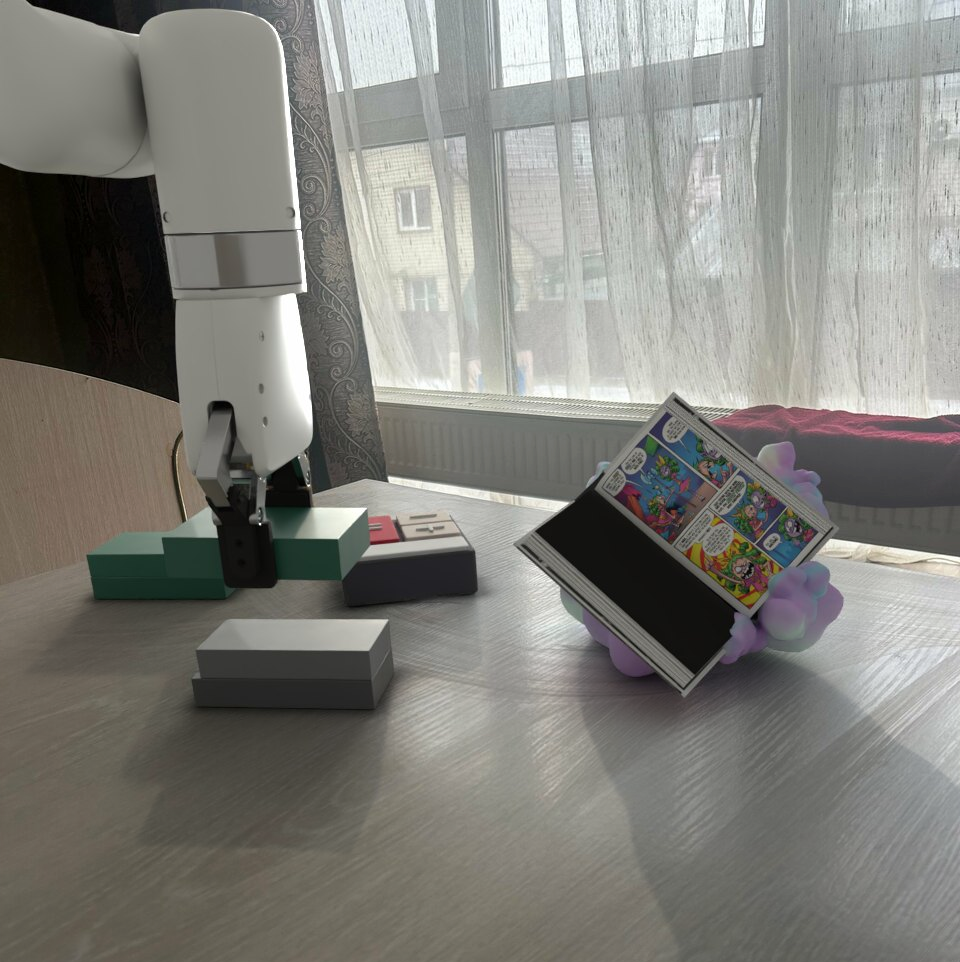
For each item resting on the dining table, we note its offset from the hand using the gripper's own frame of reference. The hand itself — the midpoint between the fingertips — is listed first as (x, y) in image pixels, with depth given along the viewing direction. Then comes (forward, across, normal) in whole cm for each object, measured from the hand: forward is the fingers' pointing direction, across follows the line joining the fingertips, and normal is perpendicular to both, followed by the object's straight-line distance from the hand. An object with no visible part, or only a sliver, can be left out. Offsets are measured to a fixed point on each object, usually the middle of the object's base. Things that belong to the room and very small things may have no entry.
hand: (273, 564), depth 64 cm
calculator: (+9, -24, +3) cm, 26 cm away
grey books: (+9, 0, +1) cm, 9 cm away
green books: (+9, -21, -17) cm, 29 cm away
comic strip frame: (+8, -8, +27) cm, 29 cm away
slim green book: (0, 0, 0) cm, 0 cm away
